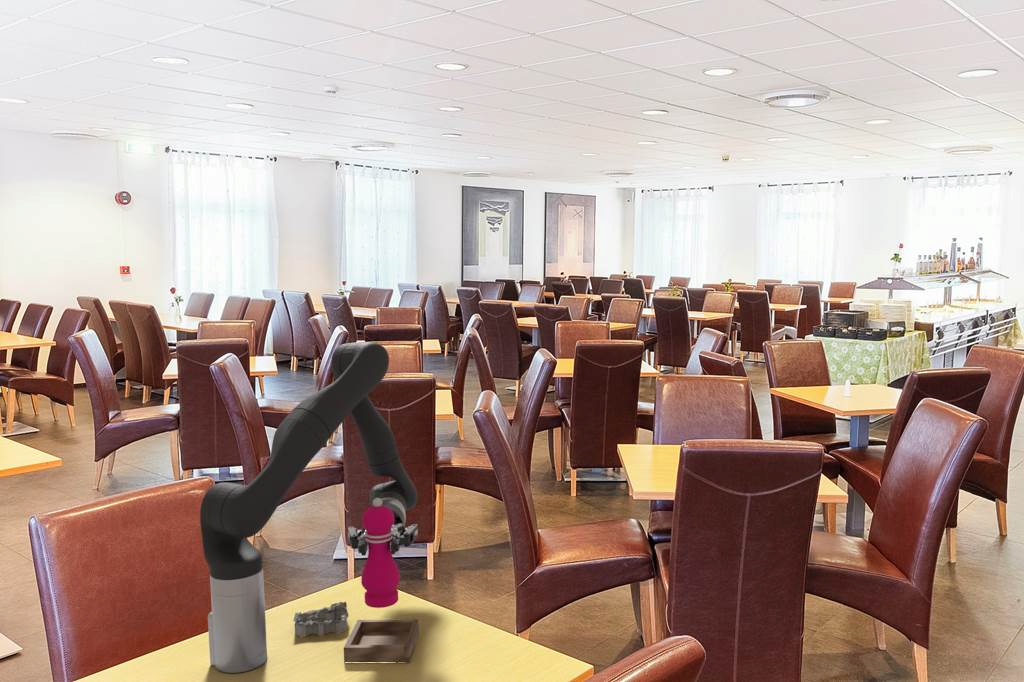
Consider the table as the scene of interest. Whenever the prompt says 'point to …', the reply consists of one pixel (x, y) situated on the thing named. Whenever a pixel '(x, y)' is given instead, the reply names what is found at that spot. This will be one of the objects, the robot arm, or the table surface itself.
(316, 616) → the egg carton
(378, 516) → the pepper mill
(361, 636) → the tray
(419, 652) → the table surface
